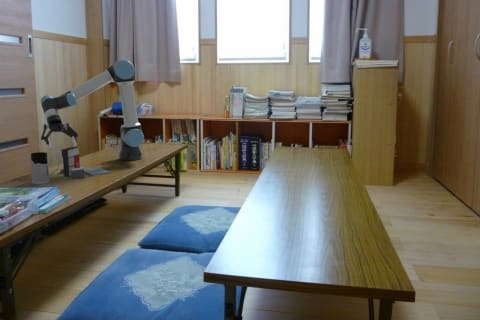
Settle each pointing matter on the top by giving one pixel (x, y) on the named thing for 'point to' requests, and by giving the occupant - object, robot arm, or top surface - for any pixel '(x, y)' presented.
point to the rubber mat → (96, 171)
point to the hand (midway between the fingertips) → (63, 147)
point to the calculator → (70, 160)
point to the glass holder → (40, 168)
